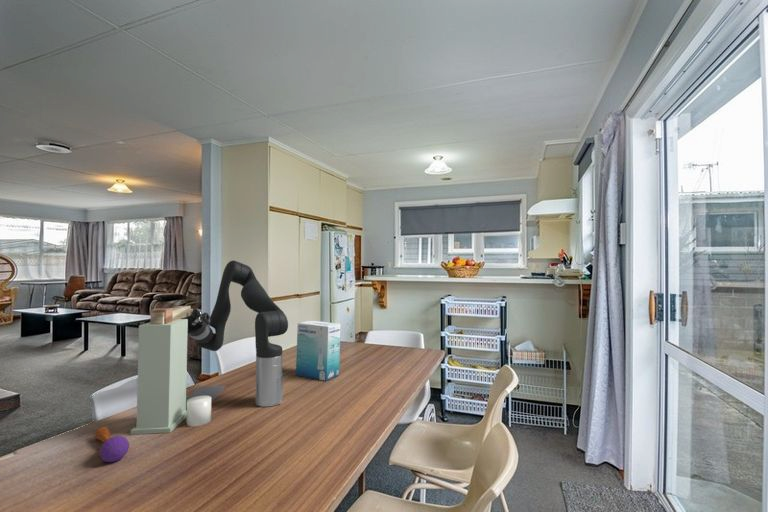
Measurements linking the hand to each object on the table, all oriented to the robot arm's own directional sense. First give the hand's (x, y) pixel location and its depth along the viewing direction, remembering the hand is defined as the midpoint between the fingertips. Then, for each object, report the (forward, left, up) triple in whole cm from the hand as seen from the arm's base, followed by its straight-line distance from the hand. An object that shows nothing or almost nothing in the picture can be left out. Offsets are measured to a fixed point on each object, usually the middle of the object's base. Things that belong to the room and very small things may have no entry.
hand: (181, 311), depth 124 cm
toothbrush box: (-46, -33, -34) cm, 66 cm away
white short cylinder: (-11, +11, -34) cm, 38 cm away
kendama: (+6, +27, -35) cm, 44 cm away
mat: (-4, -10, -34) cm, 36 cm away
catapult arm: (0, +6, -2) cm, 7 cm away
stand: (0, +11, -34) cm, 36 cm away
